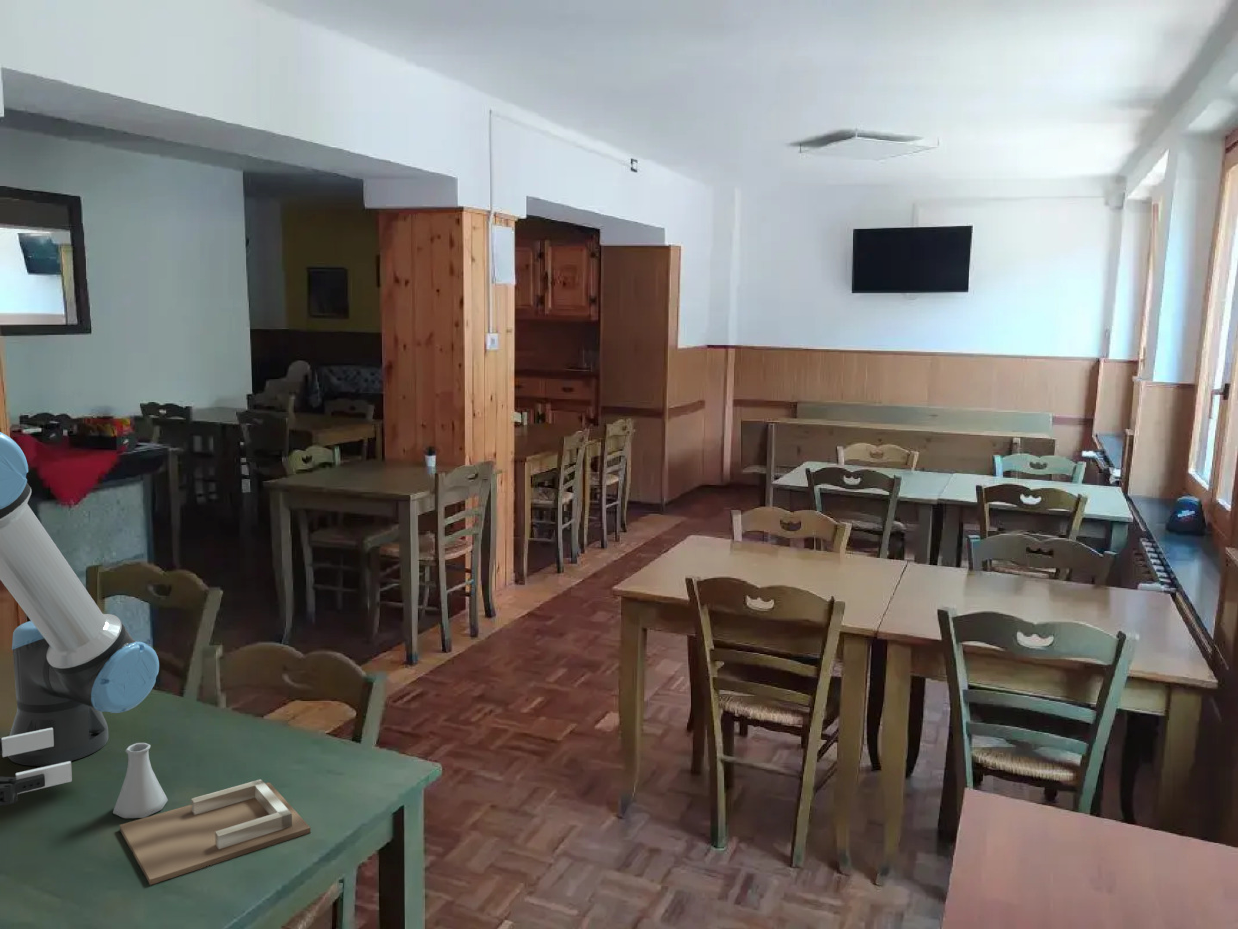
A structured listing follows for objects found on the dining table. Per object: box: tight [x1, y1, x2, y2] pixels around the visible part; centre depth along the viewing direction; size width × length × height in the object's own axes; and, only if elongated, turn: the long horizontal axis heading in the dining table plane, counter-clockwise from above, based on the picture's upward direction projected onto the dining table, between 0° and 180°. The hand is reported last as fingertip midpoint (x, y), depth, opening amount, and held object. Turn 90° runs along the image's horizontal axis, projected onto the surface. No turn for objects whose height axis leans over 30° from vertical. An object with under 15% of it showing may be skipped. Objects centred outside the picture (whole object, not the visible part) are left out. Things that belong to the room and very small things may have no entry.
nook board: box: [119, 778, 311, 886], centre depth 140 cm, size 17×22×3 cm
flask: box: [112, 742, 169, 819], centre depth 145 cm, size 7×7×10 cm
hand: (62, 753), depth 137 cm, fingers open, 13 cm apart
